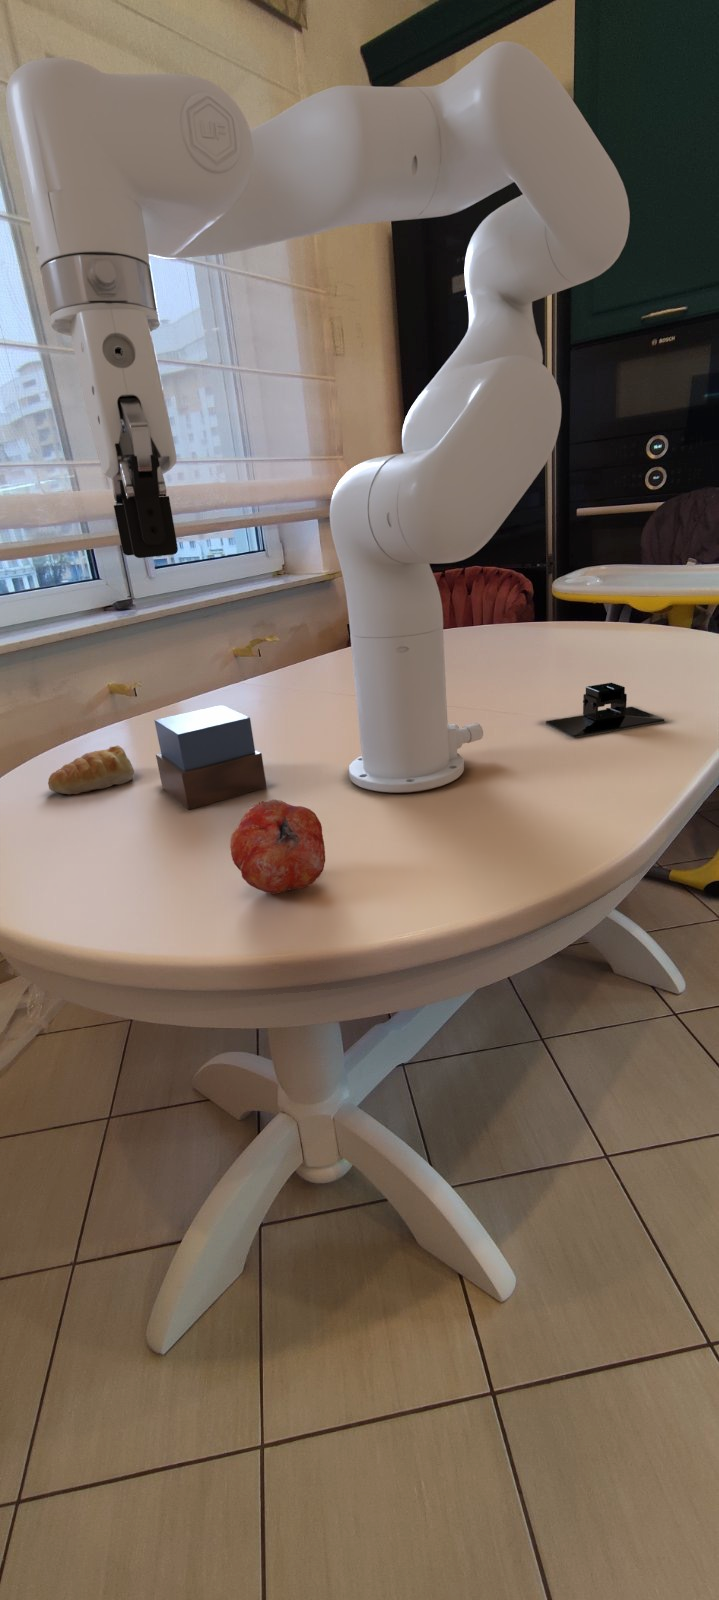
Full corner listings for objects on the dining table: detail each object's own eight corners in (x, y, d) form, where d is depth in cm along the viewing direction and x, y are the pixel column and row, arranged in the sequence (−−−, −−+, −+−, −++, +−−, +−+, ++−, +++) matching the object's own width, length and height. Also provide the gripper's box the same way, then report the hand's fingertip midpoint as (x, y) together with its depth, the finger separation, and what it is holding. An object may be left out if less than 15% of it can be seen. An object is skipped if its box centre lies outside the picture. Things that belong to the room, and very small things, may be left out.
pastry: (61, 803, 81) (52, 770, 79) (43, 789, 86) (34, 759, 84) (140, 779, 86) (133, 748, 85) (119, 768, 91) (112, 739, 90)
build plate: (573, 739, 86) (574, 700, 84) (543, 724, 92) (543, 688, 91) (665, 721, 88) (667, 684, 86) (629, 708, 95) (631, 673, 93)
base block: (235, 768, 87) (229, 736, 85) (266, 787, 80) (261, 753, 78) (162, 787, 83) (155, 754, 81) (188, 809, 75) (181, 774, 74)
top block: (227, 737, 85) (222, 704, 83) (255, 753, 78) (250, 717, 77) (161, 754, 81) (154, 719, 79) (184, 771, 75) (177, 734, 73)
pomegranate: (233, 905, 60) (228, 884, 51) (232, 820, 62) (226, 785, 53) (322, 900, 61) (333, 879, 52) (318, 817, 63) (327, 782, 54)
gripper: (172, 263, 45) (216, 551, 52) (143, 332, 60) (180, 548, 67) (45, 260, 43) (107, 563, 49) (48, 333, 58) (95, 557, 64)
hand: (149, 554), depth 58 cm, fingers open, 9 cm apart
